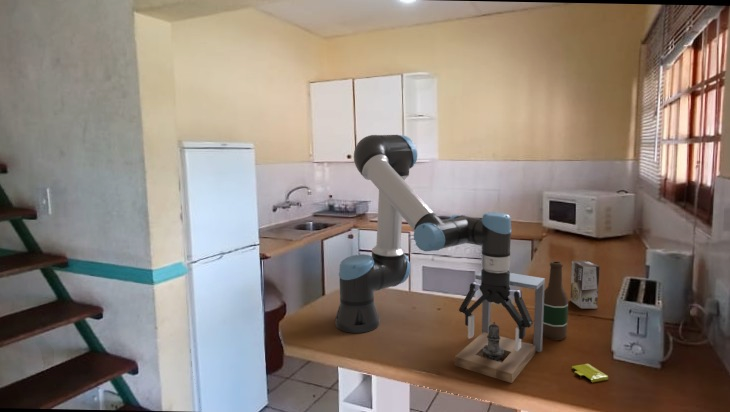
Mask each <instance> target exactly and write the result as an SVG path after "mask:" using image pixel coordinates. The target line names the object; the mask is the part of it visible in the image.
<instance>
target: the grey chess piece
mask: <svg viewBox="0 0 730 412" xmlns="http://www.w3.org/2000/svg"><path fill="white" fill-rule="evenodd" d="M499 336H500V326H498V325H497V323H496V322H495V321H493V323H492V324H490V326H489V334H488V336H487V338H488V345H487V346H485V347H483V352H484V355H483V356H484V358H488V359H491V360H495V361H498V362H503V361H502V360H501V359H503V358H502V356H503V354H504V350H503V349H502V348H500V347H499V340H500V337H499Z"/></svg>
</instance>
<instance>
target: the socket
mask: <svg viewBox="0 0 730 412" xmlns="http://www.w3.org/2000/svg"><path fill="white" fill-rule="evenodd" d="M488 334H489V333H485V332H482V331H481V333H480V334H479V335H478V336H477V337H475V338H474V339H473V340H472V341H471V342H470V343H469V344H467V345H466V346H465V347H464V348H463V349H462V350H460V352H458V353H457V354H456V355H455V356H454V366H455V367H459V368H462V369H465V370H469V371H472V372H475V373H477V374H481V375H484V376H488V377H491V378H495V379H496V380H500V381H504V382H506V383H511V384H512V383H513V382H514V381H515V379H516V378H517V377H518V376H519V375H520V373H521V372H522V371H523V370H524V368H525V367H526V366H527V365H528V363H529V362H530V361H531V359H532V358H533V357H534V356H535V354H536V351H535V345H533V343H528V342H524V341H521V348H520V349H519V351H515V339H513V338H508V337H504V336H500V335H499V337H500V340H499V347H500V348H502V349H503V350H504V354H503V356H502V358H501V359H504V360H503V361H502V362H498V361H495V360H491V359H488V358H486V357H485V355H484V352H483V347H485V346H487V345H488V338H487V336H488Z"/></svg>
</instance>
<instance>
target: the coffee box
mask: <svg viewBox="0 0 730 412" xmlns="http://www.w3.org/2000/svg"><path fill="white" fill-rule="evenodd" d="M600 267H601V266H599V265H598V264H596V263H594V262H592V261H589V260H584V259H583V260H572V261H571V273H570V274H571V277H570V281H571V282H570V302H572V304H574V305H576V306H577V307H578V308H579V309H598V300H599V285H600V284H599V283H600Z"/></svg>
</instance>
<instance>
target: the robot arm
mask: <svg viewBox="0 0 730 412" xmlns="http://www.w3.org/2000/svg"><path fill="white" fill-rule="evenodd" d="M417 159H418V150H417V146H416V143H414V142H413V140H412V139H411V138H410V137H408V136H406V135H402V134H400V135H399V134H371V135H367V136H365V137H363V138H362V139H360V140H359V141H358V142H357V144H356V146H355V148H354V152H353V161H354V166H355V168H356V169H357V171H358V172H359V173H360V175H361V176H362V178H363V179H365V180H367V181H371V183H372V184H374V186H375V187H376V188H377V190H378V201H377V202H378V203H377V204H378V205H377V226H376V227H377V229H376V245H375V246H373V248H372V250H371V255H369V254H355V255H350V256H347V257H345V258H343V259H342V260H341V261H340V264H339V269H338V270H339V271H338V276H339V300H340V301H339V306H338V310H337V313H336V316H335V327H336V328H337V329H338V330H340V331H342V332H345V333H352V334H353V333H354V334H361V333H367V332H372V331H373V330H376V329H377V328H378V327H380V315H379V314H378V311H377V307H376V305H375V292H378V291H381V290H384V289H388V288H393V287H397V286H398V285H401V284H403V283H404V282H406V281H407V280H408V278H409V276H410V272H411V263H410V261H409V257H408V255H406V254H405V250H404V248H403V247H402V246H401V243H402V229H403V228H402V227H403V226H402V225H403V219H404V221H405V222H406V223H407V224H408V225H409V226H410V227H411V228H412V229H413V240H414V242H415V245H416V247H417V248H418V249H419V250H421V251H423V252H433V251H435V252H436V251H437V252H438V251H439V250H442V249H446V248H449V247H457V246H459V245H460V246H461V245H464V244H470V245H471V244H472V245H475V246H481V268H482V269H481V271H480V272H481V281H480V282H481V283H478V282H477V281H473V282H471V283H470V284H469V290H468V292H467V294H466V296H465V298H463V299H464V300H463V301H462V303H461V305H460V307H459V308H458V311H459V313H463V314H464V317H465V318H464V321H465V323H464V324H465V326H466V327H467V339H472V338H473V337H474V336H475V314H474V313H473V312H474V311H476V309H477V308H478V307H479V306H480V305H481V304H482V302H483V301H484V300H485V299H486V300H487V301H488V302H491V303H494V304H497V305H500V304H501V305H502V306H503V308H505V309H506V311H507V313H509V315H510V316H511V318H512V319H513V321H514V322H515V324H516V325H517V326H516V327H515V339H514V340H515V351H519V349H520V348H521V342H522V340H524V339H525V337H526V328H531V326H533V325H534V322H533V319H532V317H531V315H530V313H529V310H528V308H527V306H526V304H525V302H524V299H523V295H522V293H523V292H522V290H521V289H520V288H518V289H516V290H515V289H511V288H510V285H509V284H510V273H511V272H510V269H511V239H512V217H511V216H510V215H509V214H508V213H505V212H494V211H493V212H492V211H491V212H486V213H484V214H483V215H482V217H481V218H478V217H471V216H466V215H463V214H462V215H455V214H454V215H452V216H450V217H449V218H447V219H443V220H442V219H441V218H440V217H439V216H438V215H437V214H436V213H435V212H434V211H433V210H432V208H431V207H430V206H429V205H428V204H426V202H425V201H424V200H423V199H422V198H421V197H420V196H419V195H418V193H417V192H416V191H415V190H414V189H413V188H412V187H411V186H410V185H409V184H408V183H407V182H406V181H405V180H406V179H407V178H408V177H409V176H410V169H412V168H413V167H414V166H415V165H416V163H417V161H418V160H417ZM477 291H480V292H481V294H482V295H481V296H480V297H478V299H477V300H476V301H475V302H474V303H472V305H471V306H470V307H469V308H468V306H469V305H470V303H471V301H472V299H473V298H474V296H475V294H476V292H477ZM509 296H511V298H512V299H514V302H515V306H516V307H517V308H516V307H515V306H514V304H513V303H512V300H511V299H510V297H509ZM517 309H518V310H517Z"/></svg>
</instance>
